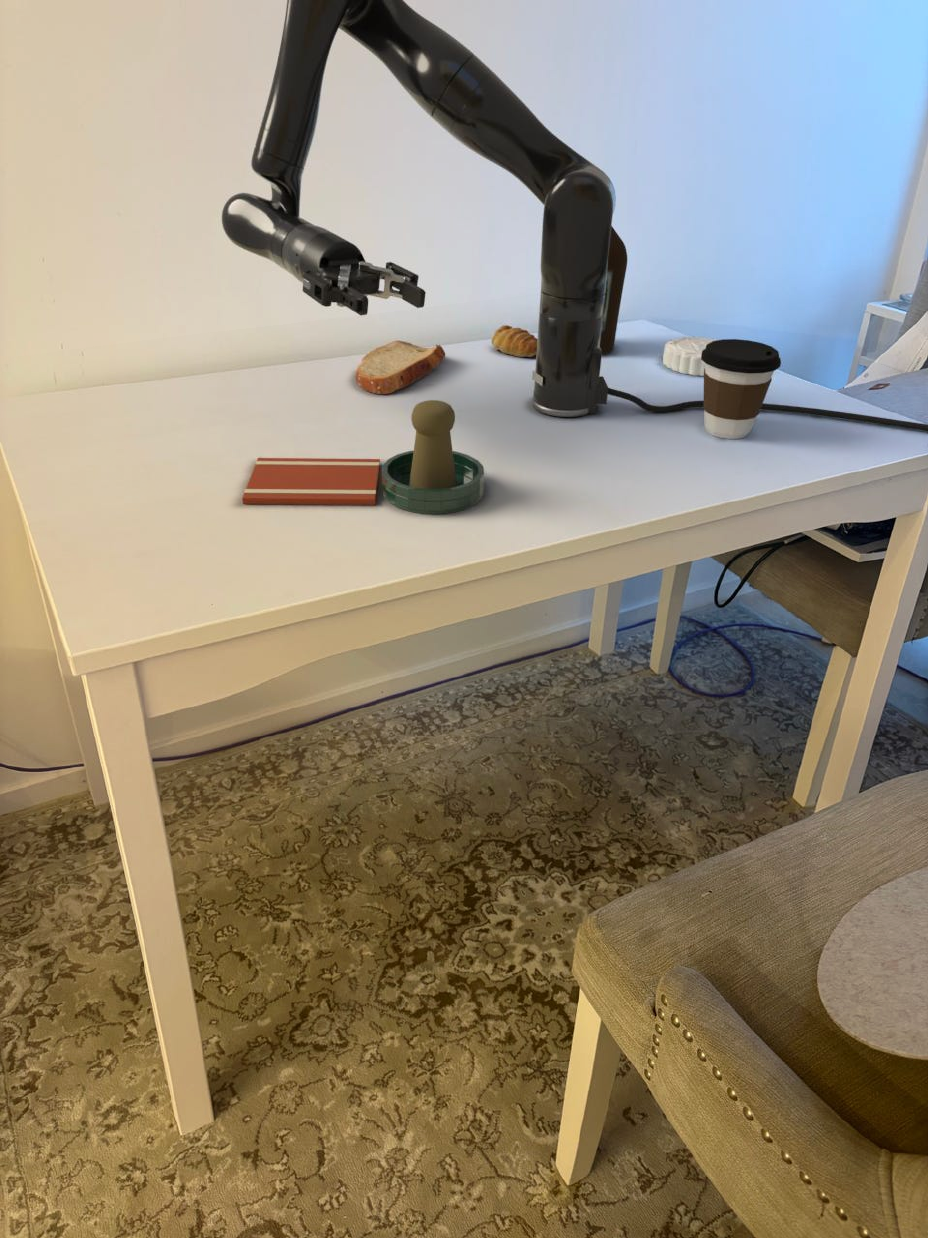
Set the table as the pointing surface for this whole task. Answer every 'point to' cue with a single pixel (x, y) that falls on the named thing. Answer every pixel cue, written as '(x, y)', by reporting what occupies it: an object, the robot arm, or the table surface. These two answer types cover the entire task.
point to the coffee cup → (735, 384)
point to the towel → (313, 481)
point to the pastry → (515, 341)
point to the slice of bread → (396, 366)
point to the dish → (432, 500)
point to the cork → (433, 446)
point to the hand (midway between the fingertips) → (394, 303)
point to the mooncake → (686, 355)
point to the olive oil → (613, 291)
